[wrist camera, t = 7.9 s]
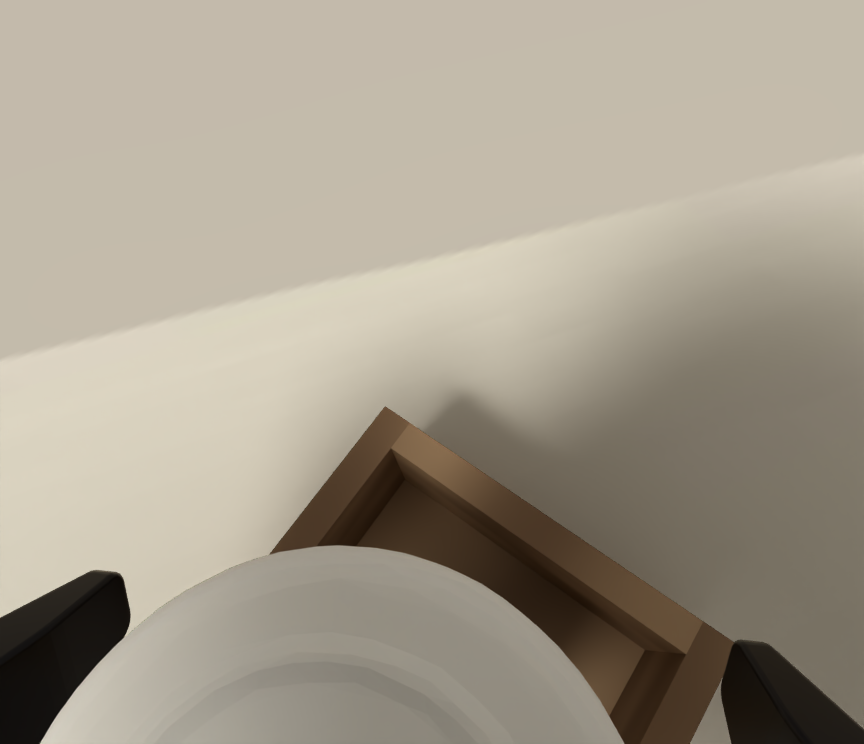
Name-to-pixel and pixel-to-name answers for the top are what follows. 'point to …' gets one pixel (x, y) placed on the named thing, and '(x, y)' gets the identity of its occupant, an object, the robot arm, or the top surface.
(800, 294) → the top surface
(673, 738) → the crate
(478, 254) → the top surface
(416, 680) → the sprinkles bottle
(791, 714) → the robot arm
